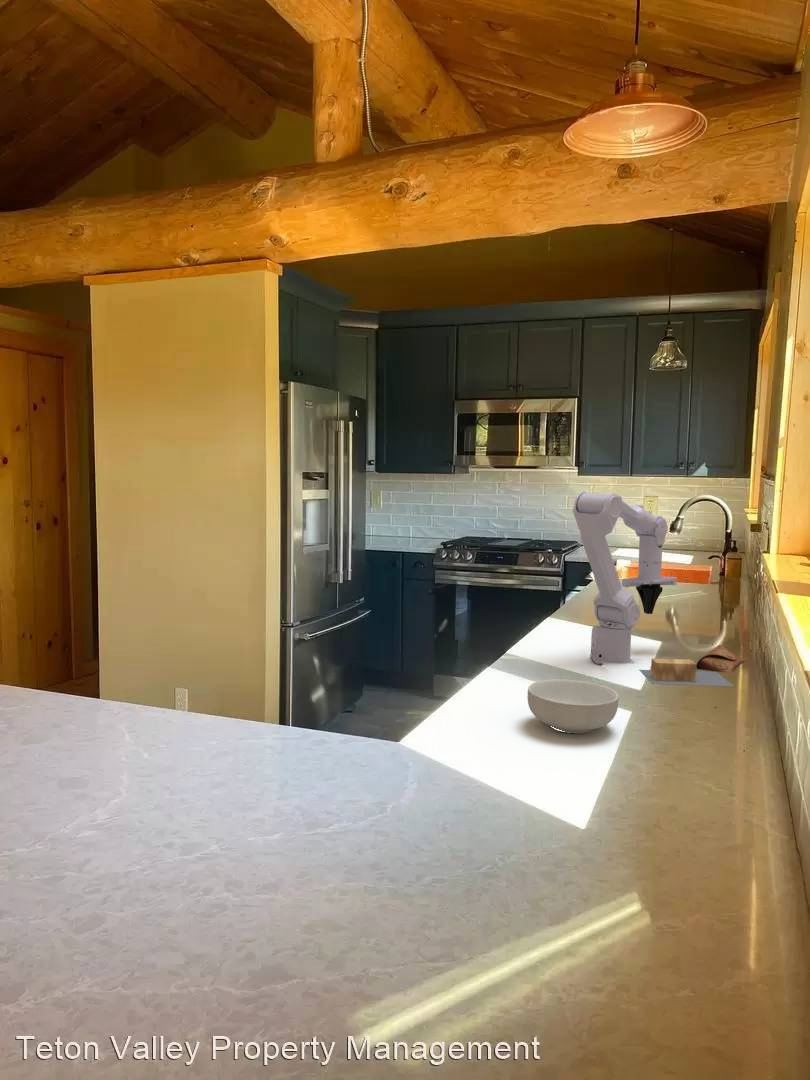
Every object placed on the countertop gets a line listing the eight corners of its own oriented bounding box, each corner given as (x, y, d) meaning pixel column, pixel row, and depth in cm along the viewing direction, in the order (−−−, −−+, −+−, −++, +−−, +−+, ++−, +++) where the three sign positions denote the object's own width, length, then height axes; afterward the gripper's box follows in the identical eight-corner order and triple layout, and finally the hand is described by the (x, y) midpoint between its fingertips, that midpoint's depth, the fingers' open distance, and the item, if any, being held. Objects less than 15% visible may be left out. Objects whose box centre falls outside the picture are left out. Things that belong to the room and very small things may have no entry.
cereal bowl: (619, 746, 140) (621, 707, 140) (524, 738, 144) (525, 700, 143) (614, 716, 157) (616, 681, 156) (528, 709, 160) (529, 675, 159)
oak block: (695, 681, 181) (655, 680, 181) (690, 676, 185) (650, 675, 185) (696, 664, 180) (656, 663, 181) (691, 659, 184) (651, 658, 185)
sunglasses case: (733, 676, 187) (719, 650, 189) (705, 687, 191) (692, 661, 192) (748, 661, 202) (735, 637, 203) (722, 671, 206) (710, 647, 207)
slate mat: (652, 686, 178) (652, 683, 178) (638, 672, 190) (638, 669, 190) (734, 688, 177) (734, 686, 177) (715, 674, 189) (715, 671, 189)
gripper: (632, 564, 202) (630, 617, 203) (683, 562, 205) (681, 615, 207) (618, 560, 209) (617, 612, 210) (669, 559, 212) (667, 609, 213)
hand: (648, 613), depth 209 cm, fingers closed
